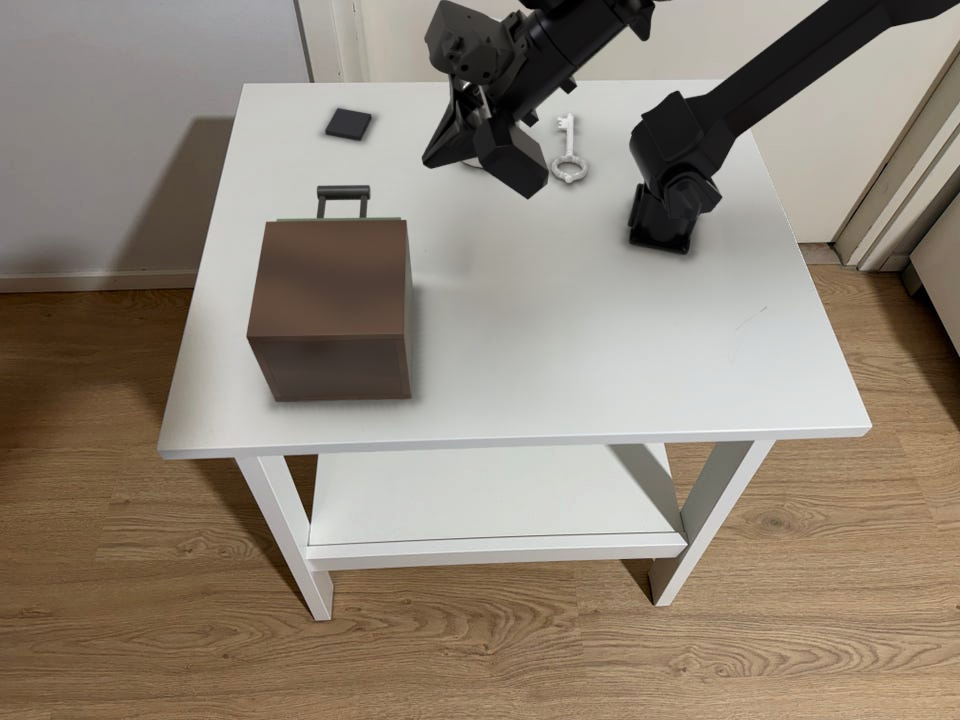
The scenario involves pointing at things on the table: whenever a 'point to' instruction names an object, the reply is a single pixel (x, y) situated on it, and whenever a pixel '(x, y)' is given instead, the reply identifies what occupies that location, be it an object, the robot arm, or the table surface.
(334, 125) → the pad
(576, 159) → the key
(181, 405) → the table surface
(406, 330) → the cabinet
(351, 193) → the drawer
